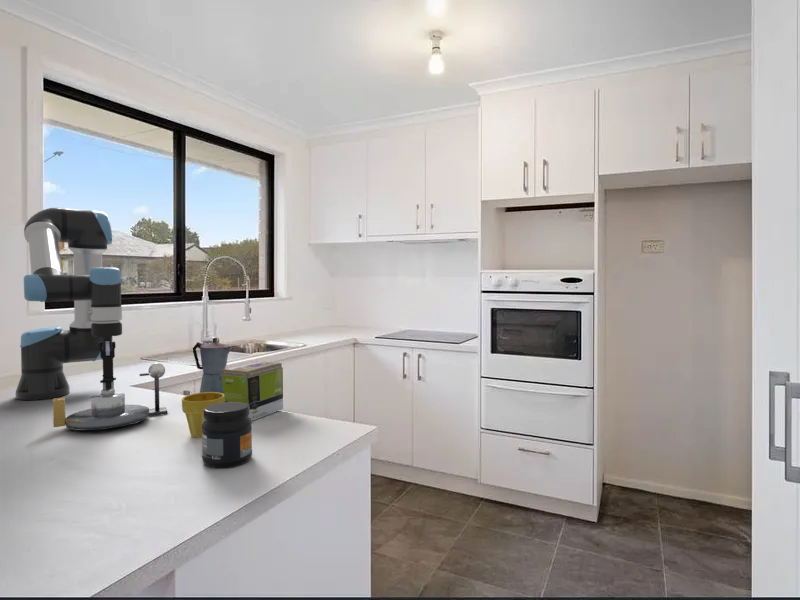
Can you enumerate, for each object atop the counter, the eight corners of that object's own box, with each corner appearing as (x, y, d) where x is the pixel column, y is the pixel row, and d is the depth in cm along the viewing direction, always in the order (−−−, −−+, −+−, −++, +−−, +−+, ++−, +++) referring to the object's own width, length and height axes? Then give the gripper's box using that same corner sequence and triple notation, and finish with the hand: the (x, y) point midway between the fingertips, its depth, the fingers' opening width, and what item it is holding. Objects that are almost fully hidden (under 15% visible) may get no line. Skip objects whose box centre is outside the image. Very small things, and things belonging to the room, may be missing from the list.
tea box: (258, 406, 155) (258, 360, 154) (283, 410, 150) (283, 362, 150) (222, 418, 141) (221, 367, 141) (248, 423, 137) (248, 370, 136)
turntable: (56, 417, 138) (56, 392, 138) (146, 406, 150) (146, 383, 149) (50, 436, 121) (49, 408, 120) (152, 422, 132) (151, 396, 132)
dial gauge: (139, 413, 146) (138, 362, 146) (165, 410, 150) (164, 360, 149) (140, 417, 142) (139, 365, 142) (167, 414, 146) (166, 363, 145)
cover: (92, 412, 137) (91, 388, 137) (124, 408, 141) (124, 385, 141) (91, 419, 131) (90, 394, 130) (125, 414, 135) (124, 391, 134)
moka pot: (224, 399, 164) (223, 339, 163) (183, 397, 167) (182, 338, 166) (239, 393, 173) (238, 336, 172) (200, 391, 176) (199, 335, 175)
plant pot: (183, 442, 120) (183, 403, 120) (181, 430, 129) (180, 394, 129) (228, 436, 125) (227, 398, 125) (222, 425, 134) (222, 390, 134)
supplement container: (261, 454, 112) (260, 402, 112) (235, 471, 102) (235, 414, 101) (220, 450, 114) (219, 399, 114) (191, 467, 104) (190, 411, 104)
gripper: (91, 320, 143) (93, 401, 144) (90, 324, 132) (93, 411, 133) (121, 319, 147) (123, 397, 147) (122, 322, 136) (124, 407, 136)
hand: (108, 404), depth 140 cm, fingers closed
